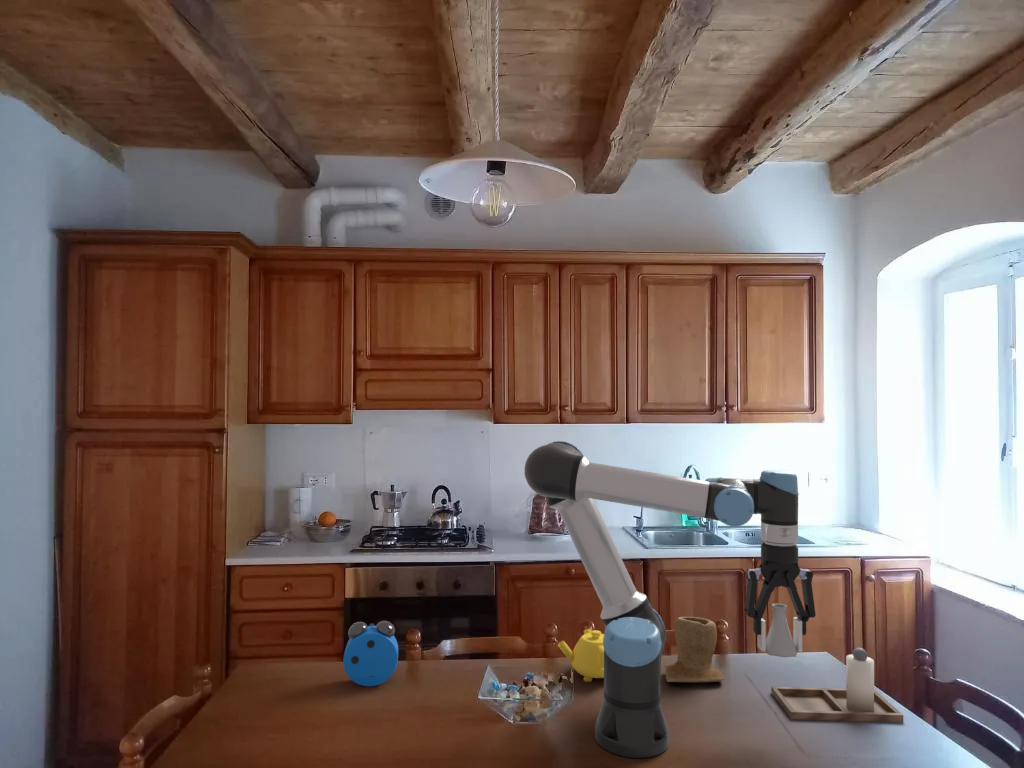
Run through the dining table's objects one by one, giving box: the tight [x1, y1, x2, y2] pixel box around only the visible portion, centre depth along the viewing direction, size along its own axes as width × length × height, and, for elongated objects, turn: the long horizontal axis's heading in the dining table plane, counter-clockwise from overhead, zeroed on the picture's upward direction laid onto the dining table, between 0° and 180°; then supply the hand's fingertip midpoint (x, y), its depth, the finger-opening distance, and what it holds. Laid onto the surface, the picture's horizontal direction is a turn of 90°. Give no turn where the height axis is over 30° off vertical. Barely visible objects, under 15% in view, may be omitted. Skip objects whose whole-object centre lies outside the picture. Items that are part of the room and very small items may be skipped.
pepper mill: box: [845, 647, 875, 712], centre depth 154 cm, size 6×6×14 cm
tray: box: [770, 686, 904, 723], centre depth 155 cm, size 24×13×2 cm, turn 87°
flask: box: [765, 603, 798, 658], centre depth 146 cm, size 7×7×10 cm
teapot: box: [557, 628, 604, 683], centre depth 174 cm, size 14×14×11 cm
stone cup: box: [664, 616, 724, 683], centre depth 172 cm, size 15×12×15 cm
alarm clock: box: [342, 620, 399, 687], centre depth 168 cm, size 13×6×15 cm, turn 98°
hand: (779, 649), depth 146 cm, fingers closed on flask, 7 cm apart
